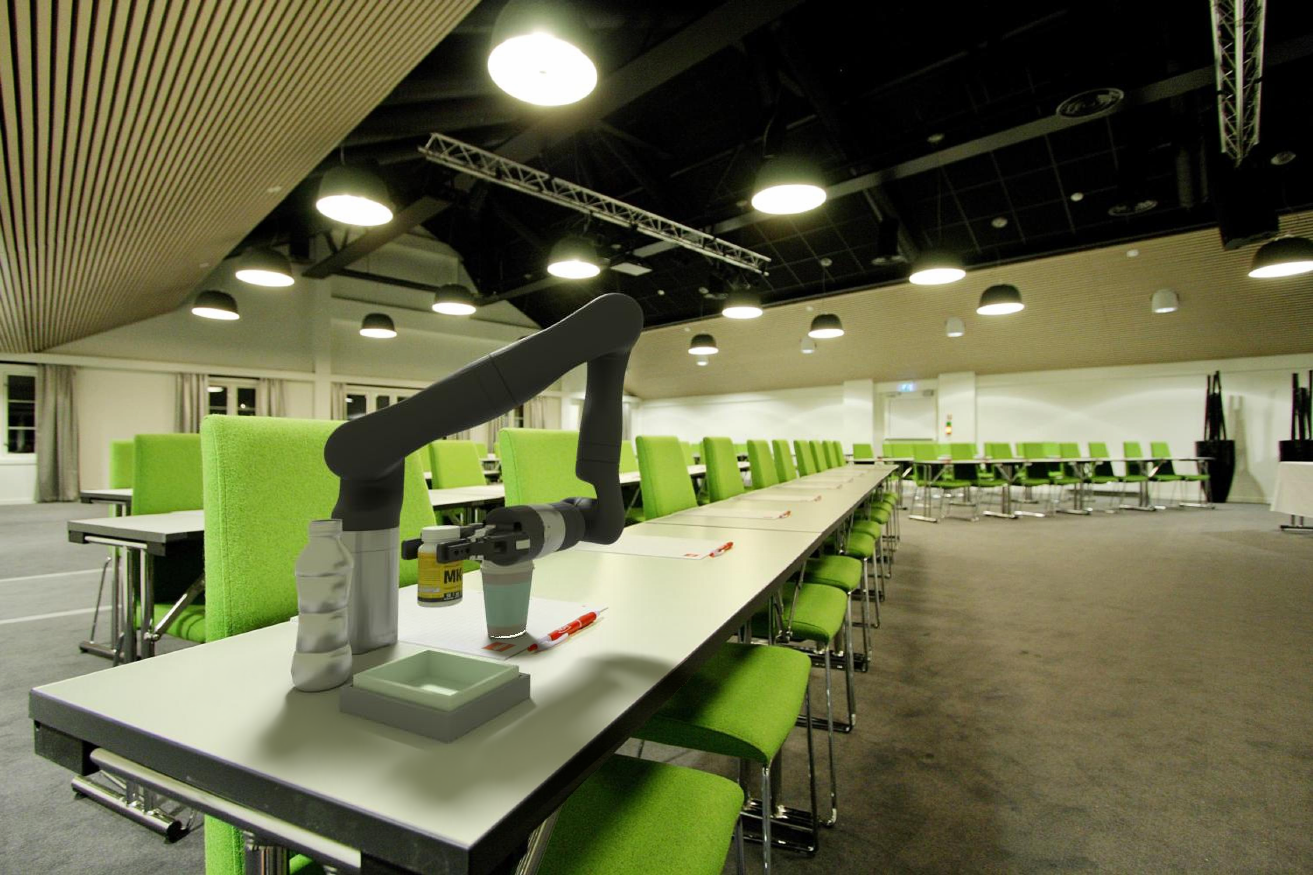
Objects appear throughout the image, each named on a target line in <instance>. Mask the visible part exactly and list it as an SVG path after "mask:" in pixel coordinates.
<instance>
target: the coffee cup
mask: <svg viewBox="0 0 1313 875" xmlns="http://www.w3.org/2000/svg"><path fill="white" fill-rule="evenodd" d="M481 561H482V562H481V564H480V566H479V570H478V571H479V572H480V573H481V580H482V581H481V583H482V590H483V592H482V593H483V602H484V610H485V611H484V612H485V621H486V622H485V623H486V629H487V636H488V635H489V636H488V637H490V636H494V637H499V636H500V637H501V636H510V635H515V634H518V633H520V632H523V631H524V630H526V631H527V623H528V616H529V606H530V599H531V598H530V597H531V590H532V581H533V573H534V572H533V571H534V570H535V569H536V567H535V563H534V560H530V561H527V562H523V563H519V564H515V565H511V566H506V567H503V566H498V565H496V564H494V563H492V562H491V561H487V560H481Z"/></svg>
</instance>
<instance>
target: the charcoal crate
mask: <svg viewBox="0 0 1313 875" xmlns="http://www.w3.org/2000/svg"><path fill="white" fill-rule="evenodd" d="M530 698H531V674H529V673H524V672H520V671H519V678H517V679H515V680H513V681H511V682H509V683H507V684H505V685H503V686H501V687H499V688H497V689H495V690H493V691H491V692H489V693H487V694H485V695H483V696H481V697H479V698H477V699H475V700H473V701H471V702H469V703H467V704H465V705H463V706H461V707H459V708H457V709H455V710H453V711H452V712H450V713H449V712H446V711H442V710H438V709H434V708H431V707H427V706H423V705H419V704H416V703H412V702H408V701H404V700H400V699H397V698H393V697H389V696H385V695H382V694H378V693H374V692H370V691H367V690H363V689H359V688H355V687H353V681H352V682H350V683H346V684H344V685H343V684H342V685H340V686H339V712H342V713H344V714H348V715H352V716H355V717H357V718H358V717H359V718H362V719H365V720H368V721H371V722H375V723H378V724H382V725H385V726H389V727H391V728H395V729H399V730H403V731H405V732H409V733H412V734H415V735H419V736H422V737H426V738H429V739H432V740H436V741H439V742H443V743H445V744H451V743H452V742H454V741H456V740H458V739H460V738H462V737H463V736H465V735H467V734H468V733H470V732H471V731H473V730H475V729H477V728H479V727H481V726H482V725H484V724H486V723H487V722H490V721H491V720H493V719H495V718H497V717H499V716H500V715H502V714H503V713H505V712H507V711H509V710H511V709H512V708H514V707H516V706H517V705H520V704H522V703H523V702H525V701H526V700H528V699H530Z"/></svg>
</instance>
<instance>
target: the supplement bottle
mask: <svg viewBox="0 0 1313 875" xmlns="http://www.w3.org/2000/svg"><path fill="white" fill-rule="evenodd" d="M460 527H461V526H459V525H451V524H450V525H449V524H448V525H434V526H433V525H432V526H426V527H425V526H424V527H422V528H421V533H422V541H424V544H423V545H421V546H420V547H419V549H418V559H417V595H416V596H417V598H416V600H417V601H416V602H417V605H418V606H420V607H421V608H435V609H436V608H446V607H452V606H455V605H458V604H460V603H461V602H462V601H463V594H464V593H463V591H464V590H463V584H464V583H463V582H464V580H463V579H464V578H463V577H464V568H463V567H464V560H461V561H456V562H451V563H447V564H439V563H437V561H436V547H437V545H438V543H441V542H447V541H452V540H458V539H460Z"/></svg>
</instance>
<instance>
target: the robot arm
mask: <svg viewBox="0 0 1313 875" xmlns="http://www.w3.org/2000/svg"><path fill="white" fill-rule="evenodd" d="M643 329H644V312H643V310H642V308H641V306H640V304H639V303H638V302H637V300H635V299H634V298H633V297H631V296H629V295H626V294H624V293H618V292H610V293H605V294H602V295H600V296H598V297H597V298H594V299H593V300H591V301H590V302H588V303H587V304H585V305H584V306H582V307H581V308H579V309H578V310H576V311H574V312H573V313H571V314H570V315H568V316H567V317H565V318H563V319H561V320H560V321H559V322H556V323H555V324H553V325H551V326H550V327H547V328H546V329H543V330H541V331H539V332H536V333H533V334H530V335H528V336H525V337H524V338H522V339H521V338H520V339H519V340H516V341H514V342H512V343H510V344H508V345H506V346H504V347H501V348H499V349H497V350H494V351H492V352H491V353H488V354H486V355H484V356H482V357H480V358H478V359H476V360H475V361H472V362H470V363H468V364H466V365H464V366H463V367H461V368H459V369H457V370H455V371H453V372H452V373H449V374H448V375H446V376H444V377H442V378H441V379H438V380H437V381H435V382H433V383H432V384H430V385H428V386H427V387H425V388H423V389H422V390H420V391H418V392H417V393H415V394H412V395H411V396H409V397H407V398H404V399H403V400H401V401H399V402H395V403H393V404H391V405H388V406H385V407H383V408H380V409H378V410H376V411H372V412H370V413H367V414H365V415H361V416H359V417H356V418H353V419H350V420H348V421H346V422H343V423H342V424H340V425H338V426H337V427H336V428H335V429H334V430H333V431H332V432H331V434H330V435H329V437H328V438H327V440H326V442H325V444H324V449H323V459H324V462H325V464H326V465H325V466H326V467H327V468H328V470H329V471H330V472H331V473H332V474H334V475H335V476H336V477H338V478H340V479H339V490H338V497H337V500H336V503H335V504H334V505H335V506H334V507H333V509H332V510H331V514H330V519H342V530H343V535H340V539H341V541H342V542H343V543H344V544H345V546H346V547H347V548H348V550H349V551H350V553H351V554H352V557H353V560H354V568H353V574H352V580H351V586H350V592H349V605H348V630H349V643H350V646H351V651H352V655H353V654H364V653H371V652H374V651H378V650H380V649H383V648H386V647H390V646H393V645H394V644H396V643H397V642H398V640H399V638H398V636H399V601H400V600H399V599H400V598H399V593H400V592H399V591H400V589H399V586H400V585H399V584H400V559H402V560H403V561H412V560H418V549H419V547H420V546H421V545H423V544H424V541H422V532H420V533H419V534H420V536H418V537H413V538H407V539H404V540H402V541H401V543H400V536H401V535H400V534H401V533H400V529H401V528H400V525H401V513H402V509H403V504H404V497H405V495H404V494H405V493H404V492H405V472H406V458H407V457H409V456H410V455H411V454H413V453H415V452H417V451H419V450H420V449H422V448H423V447H425V446H427V445H429V444H431V443H434V442H436V441H438V440H440V439H443V438H446V437H449V436H453V435H455V434H458V433H462V432H464V431H465V432H466V431H467V430H470V429H473V428H476V427H479V426H482V425H484V424H486V423H489V422H491V421H493V420H495V419H498V418H499V417H502V416H503V415H506V414H507V413H510V412H511V411H514V410H515V409H517V408H519V407H521V406H523V405H524V404H526V403H527V402H529V401H531V400H532V399H534V398H535V397H536V396H538V395H540V394H541V393H542V392H543V391H545V390H546V389H548V388H550V387H551V385H553V384H554V383H555V382H557V381H558V380H559V379H561V378H562V377H563V376H564V375H566V374H567V373H569V372H570V371H571V370H573V369H575V368H578V367H579V366H581V365H584V364H585V363H586V383H585V395H584V402H583V407H582V412H581V413H582V414H581V418H580V425H579V432H578V439H577V440H578V441H577V446H576V448H577V450H576V457H575V459H576V460H575V468H574V470H575V471H574V474H575V476H576V478H577V479H578V480H580V481H582V482H584V483H586V484H587V483H588V484H590V485H592V486H593V488H594V492H595V495H596V498H594V497H588V496H587V497H586V496H570V497H565V498H563V499H561V500H559V501H556V502H549V503H536V502H535V503H526V504H517V505H510V506H509V505H508V506H502V507H496V508H494V509H492V510H490V511H489V512H488V513H487V514H486V515H485V516H484V518H483V519H482V522H474V523H473V522H472V523H468V524H467V525H464V526H459V527H460V539H458V540H452V541H447V542H441V543H438V545H437V547H436V561H437V563H439V564H447V563H451V562H456V561H461V560H463V561H464V560H468V561H471V562H474V561H477V560H478V561H483V560H487V561H491V562H492V563H494V564H496V565H498V566H503V567H506V566H511V565H515V564H519V563H523V562H527V561H530V560H532V561H535V560H539V559H542V558H544V557H546V556H548V555H551V554H553V553H558V552H562V551H565V550H569V549H570V548H573V547H575V546H576V545H578V543H579V542H583V543H592V544H595V545H605V546H609V545H613V544H615V543H616V542H617V541H618V540H619V538H620V537H621V536H622V534H623V532H624V530H625V525H626V513H625V507H624V506H625V505H624V499H623V494H622V487H621V479H620V463H621V454H622V444H623V431H624V430H623V425H624V424H623V422H624V421H623V420H624V418H623V417H624V416H623V415H624V414H623V412H624V411H623V408H624V407H623V400H624V399H623V397H624V396H623V394H624V384H625V379H626V372H627V368H628V363H629V360H630V357H631V354H632V353H631V352H632V350H633V348H634V347H635V345H636V344H637V342H638V340H639V338H640V337H641V334H642V332H643ZM400 544H401V546H400ZM400 557H401V558H400Z"/></svg>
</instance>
